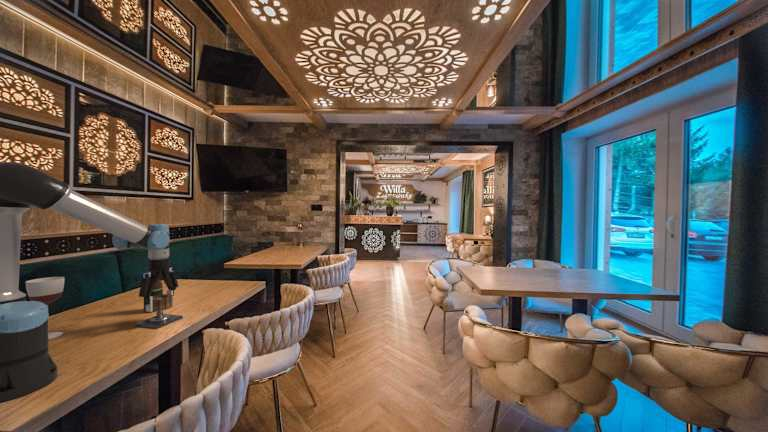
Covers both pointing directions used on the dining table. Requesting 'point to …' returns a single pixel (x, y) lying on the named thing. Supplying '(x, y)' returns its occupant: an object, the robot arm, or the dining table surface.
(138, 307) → the dining table surface
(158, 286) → the beer bottle
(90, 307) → the dining table surface
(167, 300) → the ring
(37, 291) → the wineglass
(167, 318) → the post
